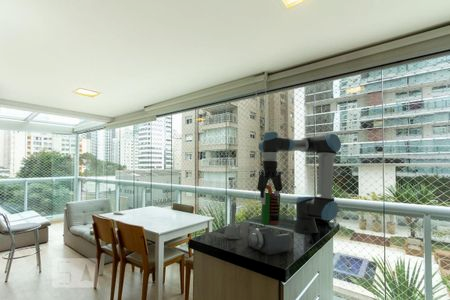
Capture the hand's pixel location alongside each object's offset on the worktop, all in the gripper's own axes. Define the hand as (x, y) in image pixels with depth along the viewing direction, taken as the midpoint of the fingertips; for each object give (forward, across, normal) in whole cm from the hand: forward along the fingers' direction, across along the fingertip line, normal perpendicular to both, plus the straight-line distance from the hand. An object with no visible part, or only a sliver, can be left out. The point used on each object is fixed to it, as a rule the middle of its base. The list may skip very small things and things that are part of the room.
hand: (269, 203), depth 124 cm
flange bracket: (+22, +3, 0) cm, 22 cm away
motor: (+10, 0, 0) cm, 10 cm away
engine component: (+23, +5, -26) cm, 35 cm away
